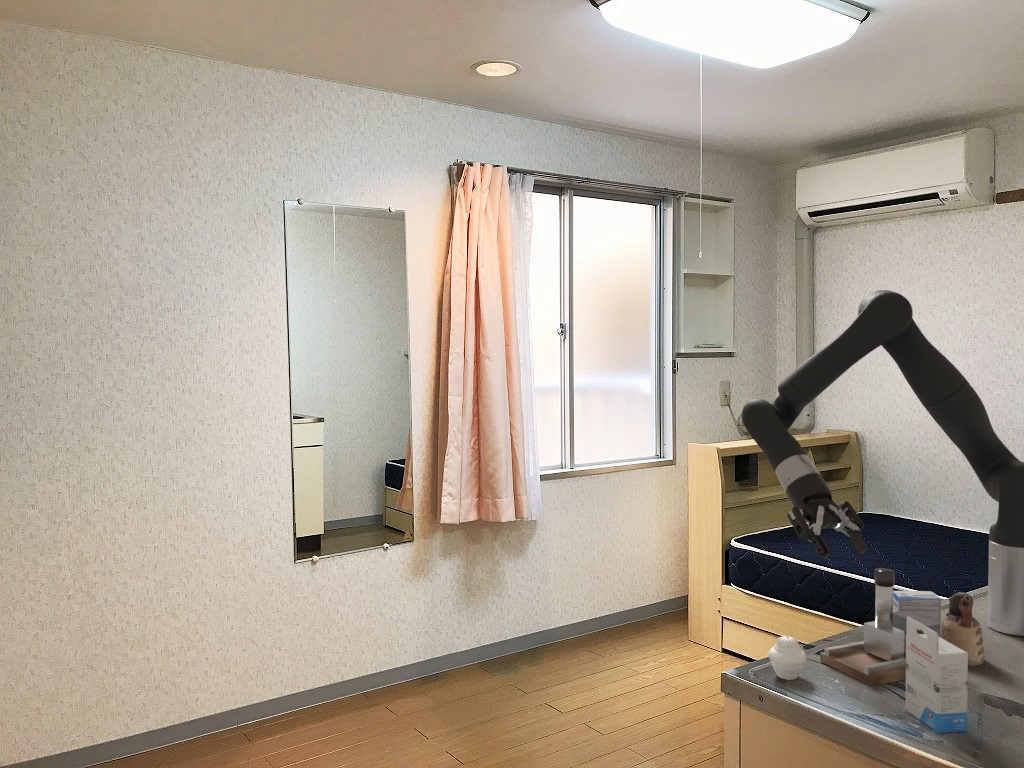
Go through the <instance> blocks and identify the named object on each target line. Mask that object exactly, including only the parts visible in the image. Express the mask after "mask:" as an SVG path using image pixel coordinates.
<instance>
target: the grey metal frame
mask: <svg viewBox="0 0 1024 768" xmlns="http://www.w3.org/2000/svg"><path fill="white" fill-rule="evenodd" d="M907 617H910V618H912V619H914V620H916V621H918V622H920V623H921V624H923V625H925V626H926V627H928V628H930V629H931V630H933V631H935V632H937V633H938V636H939V637H940V629H941V627H942V623H941V624H940V623H937V622H934V621H931V620H928V619H926V618H923V617H920V616H917V615H914V614H912V613H909V612H906V611H898V612H893V627H895V628H897V629H900V630H902V631H904V634H905V635H907ZM917 633H918V634H925V633H923V631H922V630H918V629H917ZM862 650H864V640H861V641H857V642H851V643H846V644H840V645H835V646H830V647H825V648H824V652H825V655H826V656H828V657H830V656H835V655H840V654H846V653H851V652H856V651H862ZM901 668H906V658H902V659H897V660H892V661H887V662H882V663H877V664H872V665H867V666H864V674H866V675H872V674H877V673H882V672H887V671H892V670H897V669H901Z"/></svg>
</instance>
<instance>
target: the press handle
mask: <svg viewBox="0 0 1024 768" xmlns="http://www.w3.org/2000/svg"><path fill="white" fill-rule="evenodd" d="M895 577H896V575H895V570H893V569H890V568H885V567H884V568H883V567H877V568H875V569H874V582H873V583H874V585H875V601H874V602H875V608H874V610H875V612H874V619H875V620H872V621H868V622H864V623H863V627H864V628H863V641H864V651H866V652H868V653H871V654H873V655H875V656H877V657H880V658H882V659H884V660H887V661H892V660H897V659H902V658H904V631H902V630H900V629H897V628H895V627H893V591H894V587H895V582H896V581H895V579H896V578H895Z"/></svg>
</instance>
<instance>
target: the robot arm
mask: <svg viewBox="0 0 1024 768" xmlns="http://www.w3.org/2000/svg"><path fill="white" fill-rule="evenodd" d="M857 311H858V312H857V316H856V317H855V319H854V320H853V321H852V323H850V325H849V326H848V327H847V328H846V329H845V330H844V331H843V332H842V333H841V334H840V335H839V336H837V337H836V338H835V339H834V340H833V341H830V343H829V344H826V345H825V346H824V347H823V348H821V349H820V350H819V351H817V352H816V353H814V354H812V355H811V356H810V357H808V358H806V360H804V361H803V362H802V363H801V364H800V365H798V366H797V367H796V368H795V369H793V371H792V372H791V373H789V374H788V375H787V376H786V377H785V378H784V379H782V381H781V382H779V384H778V386H777V392H778V396H777V397H776V398H775V399H774V401H772V403H771V402H769V401H768V400H766V399H761V398H755V399H751V400H749V401H748V402H747V403H745V405H744V406H743V407H742V411H741V421H742V422H741V423H742V424H743V426H744V428H745V430H746V432H747V433H748V434H749V435H750V437H751V438H752V440H753V441H754V442H755V443H756V444H757V446H758V447H759V448H760V450H761V451H762V452H763V454H764V455H765V456H766V459H767V460H768V463H769V464H770V465H771V468H772V469H773V471H774V472H775V474H776V476H777V479H778V482H779V484H780V486H781V487H782V488H783V490H784V492H785V494H786V495H787V497H788V499H789V501H790V503H791V504H792V506H793V507H792V508H791V510H790V511H788V513H787V515H786V516H787V519H788V520H789V522H790V524H791V526H792V528H793V529H794V532H795V533H796V535H797V537H798V539H799V540H800V541H805V540H807V541H808V542H810V543H811V544H812V545H813V547H814V549H815V551H816V552H817V554H818V555H819V556H820V557H821V558H822V559H828V558H829V556H831V555H832V550H831V547H830V546H829V544H828V543H827V541H826V540H825V538H824V537H823V535H821V530H822V531H823V530H824V529H825V530H826V529H828V530H829V529H830V530H831V529H833V530H835V531H836V532H841V533H842V534H844V535H845V536H847V537H848V540H849V542H850V543H851V545H852V546H853V548H854V550H855V551H856V553H857V554H858V555H861V554H864V553H865V552H866V551H867V550H868V545H867V542H866V541H865V539H864V538H863V536H862V534H861V532H860V531H861V530H863V528H865V524H864V522H863V520H862V519H861V517H860V515H859V514H858V513H857V512H856V510H855V509H854V507H853V505H851V503H850V502H849V501H847V500H846V501H844V502H843V503H842V504H837V503H836V502H835V501H834V500H833V496H832V495H833V493H832V491H831V489H830V487H829V485H828V484H827V482H826V481H825V480H824V478H823V476H822V475H821V473H820V472H819V469H818V468H817V467H816V465H815V464H814V462H813V461H812V460H811V459H810V457H809V456H808V455H807V453H806V451H805V450H804V448H803V447H802V445H801V444H800V442H799V441H798V440H797V438H796V437H795V436H793V434H791V433H790V432H789V431H788V430H789V429H790V428H791V426H792V425H793V424H794V423H795V421H796V420H797V419H798V418H799V416H800V414H801V413H802V412H803V410H804V409H805V407H807V406H808V405H809V404H810V403H812V402H813V401H814V400H815V399H816V398H817V397H818V396H820V395H821V394H822V393H823V392H824V391H825V390H826V389H828V388H829V387H830V386H831V385H832V384H833V383H834V382H835V381H837V380H838V379H839V378H840V377H841V376H842V375H843V374H844V373H846V372H847V371H848V370H849V369H850V368H852V366H855V364H856V363H858V362H859V361H860V360H862V359H864V358H865V357H866V356H867V355H869V354H871V352H873V351H874V350H877V348H879V347H880V346H881V347H882V348H883V349H884V350H885V351H886V352H887V354H888V355H889V356H890V357H891V358H892V360H893V361H894V362H895V364H896V365H897V368H898V369H899V370H900V372H901V374H902V375H903V377H904V379H905V381H906V382H907V383H908V385H909V387H910V389H911V390H912V392H913V393H914V394H915V396H916V397H917V398H918V400H919V402H920V403H921V405H922V406H923V407H924V408H925V410H926V411H927V412H928V413H929V415H930V416H931V418H932V419H933V420H934V421H935V422H936V424H937V425H938V426H939V427H940V429H941V430H942V432H944V433H945V435H946V436H947V437H948V439H950V441H951V442H952V443H953V444H954V446H955V447H957V448H958V450H959V451H960V452H961V453H962V455H963V456H964V457H965V459H966V460H967V462H968V463H969V465H970V467H971V468H972V470H973V473H975V475H976V476H977V478H978V479H979V482H980V483H981V485H982V487H983V488H984V490H985V491H986V493H987V494H988V496H990V497H991V499H993V500H994V501H996V502H997V503H998V512H997V520H996V522H995V523H994V524H992V525H990V527H989V531H988V533H989V535H988V576H987V577H988V580H987V581H988V582H987V583H988V584H987V585H988V586H987V587H988V589H987V590H988V591H987V598H988V599H987V626H988V627H989V628H990V629H993V631H996V632H999V633H1003V634H1007V635H1013V636H1019V637H1020V636H1021V637H1024V462H1023V461H1021V460H1020V459H1019V458H1017V457H1016V456H1015V455H1014V454H1013V453H1012V452H1011V450H1010V449H1009V448H1007V446H1006V445H1005V444H1004V443H1003V441H1002V440H1001V439H1000V438H999V436H998V435H997V434H996V432H995V429H994V428H993V426H992V423H991V420H990V418H989V415H988V413H987V410H986V407H985V405H984V403H983V400H982V399H981V397H980V396H979V394H978V393H977V392H976V390H975V389H974V388H973V386H972V385H971V384H970V382H969V381H968V379H966V377H965V376H964V374H963V373H961V371H960V370H959V369H958V368H957V367H956V366H955V365H954V364H953V363H952V362H951V361H950V360H949V359H948V358H947V357H946V356H945V354H943V352H940V351H939V350H938V348H936V347H935V346H934V345H933V344H932V343H931V341H929V340H928V339H927V337H926V336H925V335H924V334H923V332H922V330H921V329H920V328H919V326H918V324H917V322H915V320H914V318H913V311H914V310H913V307H912V304H911V302H910V301H909V300H908V299H907V298H906V297H905V295H902V294H901V293H899V292H896V291H893V290H887V289H878V290H874V291H872V292H869V293H868V294H866V295H865V296H864V297H863V298H862V300H861V301H860V303H859V306H858V309H857ZM840 520H841V522H840V523H839V521H840ZM848 528H849V529H848Z"/></svg>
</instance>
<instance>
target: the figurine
mask: <svg viewBox="0 0 1024 768" xmlns="http://www.w3.org/2000/svg"><path fill="white" fill-rule="evenodd" d="M948 602H949V603H948V604H949V605H948V612H947V613H946V614H945V616H946V617H945V618H944V619H943V621H941V622H942V623H941V638H942V639H944V640H946V641H947V642H949V643H951V644H953V645H954V646H956V647H958V648H960V649H962V650H963V651H965V652H967V653H968V666H969V667H970V666H971V667H976V666H981V665H983V664H984V662H985V648H984V639H983V630H982V626H981V624H980V622H979V620H977V619H976V618H975V617H974V616H973V605H974V600H973V597H972V596H971V595H970V594H969V593H967V592H960V591H959V592H957V593H954V594H953V595H951V596H949V598H948Z"/></svg>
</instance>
